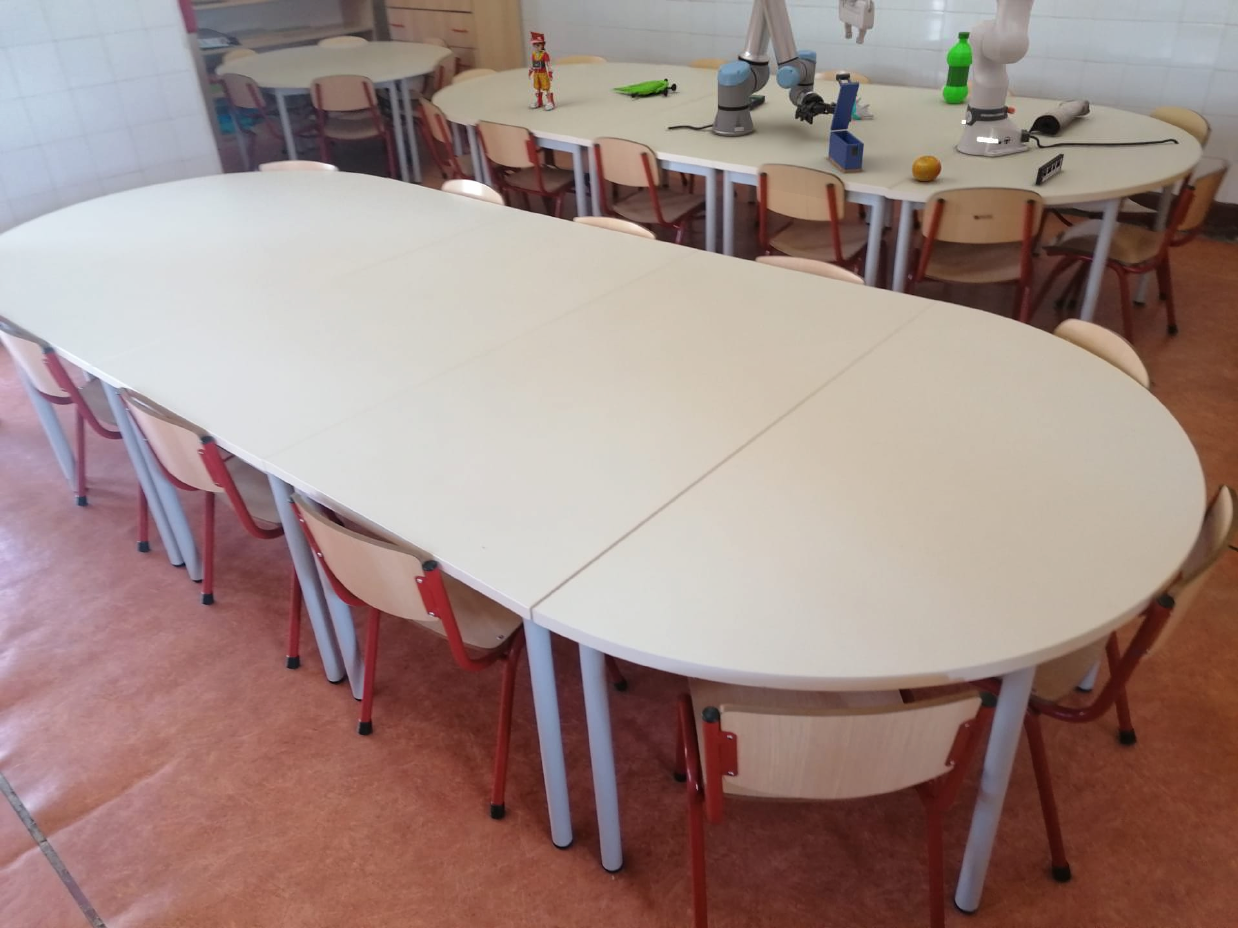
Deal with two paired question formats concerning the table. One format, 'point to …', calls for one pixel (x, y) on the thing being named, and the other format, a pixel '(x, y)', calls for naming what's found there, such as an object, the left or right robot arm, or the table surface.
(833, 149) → the chest
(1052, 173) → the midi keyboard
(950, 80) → the plastic bottle
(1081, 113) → the rolled mat
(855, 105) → the anatomical model
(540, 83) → the toy
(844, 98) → the lid
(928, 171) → the fruit
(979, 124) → the right robot arm
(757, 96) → the disk drive
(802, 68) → the left robot arm
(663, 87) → the toy
